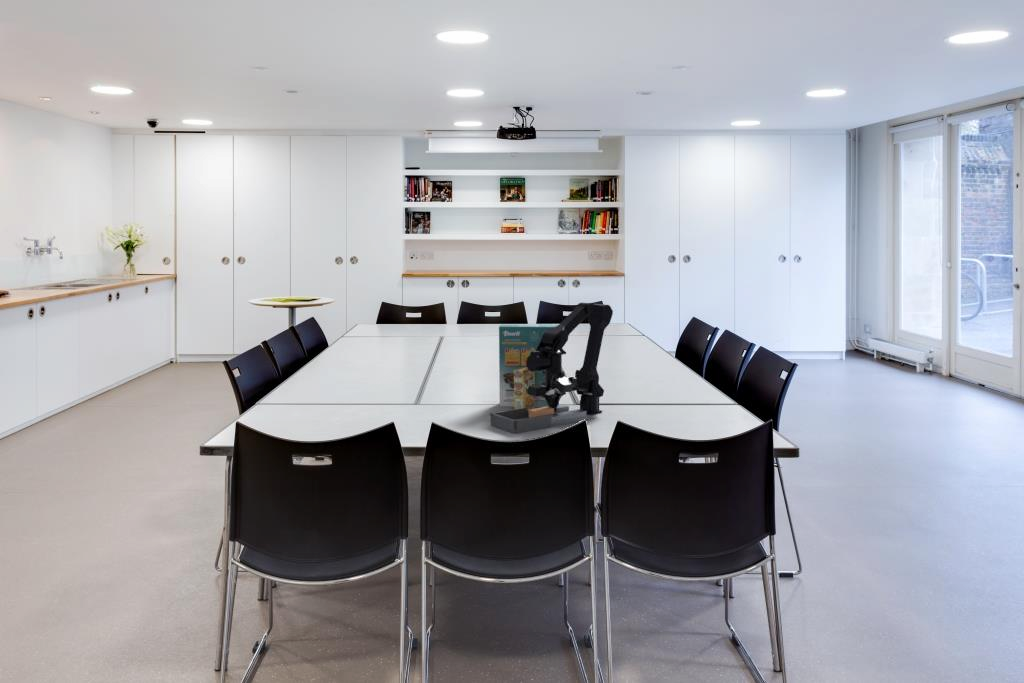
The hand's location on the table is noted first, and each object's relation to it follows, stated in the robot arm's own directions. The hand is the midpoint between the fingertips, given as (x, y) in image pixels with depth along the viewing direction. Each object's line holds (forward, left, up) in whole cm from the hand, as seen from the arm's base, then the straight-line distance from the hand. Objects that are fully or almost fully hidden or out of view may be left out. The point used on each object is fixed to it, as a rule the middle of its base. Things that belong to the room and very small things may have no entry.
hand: (553, 412), depth 292 cm
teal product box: (-8, -25, -3) cm, 27 cm away
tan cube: (+7, 0, -2) cm, 7 cm away
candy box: (-2, -20, -3) cm, 20 cm away
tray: (+14, 0, -3) cm, 14 cm away
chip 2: (+3, 0, -2) cm, 4 cm away
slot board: (-1, 0, -3) cm, 3 cm away
